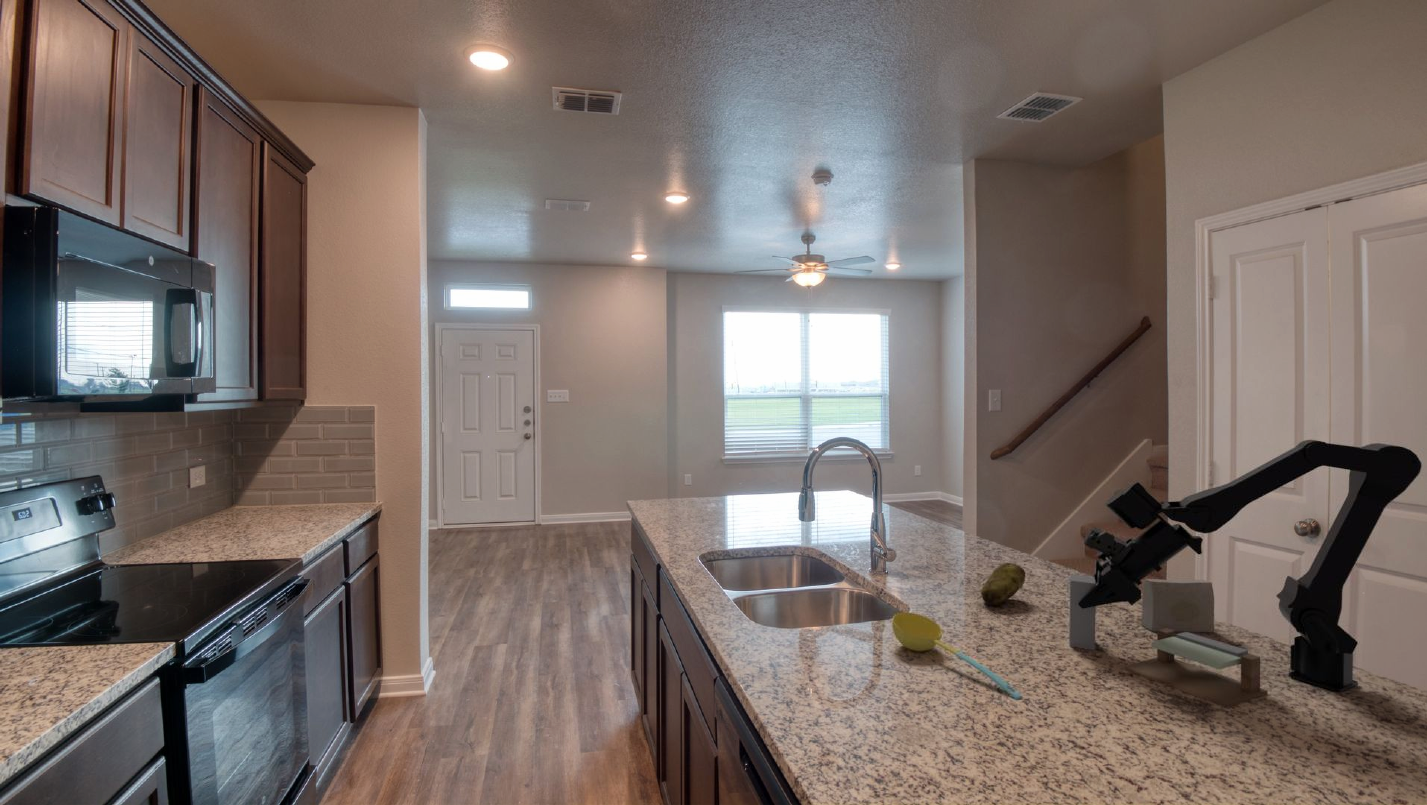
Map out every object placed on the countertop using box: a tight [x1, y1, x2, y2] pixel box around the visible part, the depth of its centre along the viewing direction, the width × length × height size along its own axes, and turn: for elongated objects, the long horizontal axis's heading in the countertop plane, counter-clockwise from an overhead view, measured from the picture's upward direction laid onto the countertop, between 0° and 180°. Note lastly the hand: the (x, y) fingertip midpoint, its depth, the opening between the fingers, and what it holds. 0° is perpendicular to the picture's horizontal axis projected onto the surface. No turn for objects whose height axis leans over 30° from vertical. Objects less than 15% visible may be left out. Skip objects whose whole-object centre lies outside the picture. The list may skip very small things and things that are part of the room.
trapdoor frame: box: [1124, 628, 1268, 709], centre depth 105 cm, size 15×11×6 cm
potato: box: [980, 562, 1026, 606], centre depth 145 cm, size 8×13×8 cm, turn 112°
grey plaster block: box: [1140, 578, 1215, 633], centre depth 128 cm, size 12×4×10 cm, turn 89°
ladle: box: [891, 611, 1024, 700], centre depth 111 cm, size 9×26×6 cm, turn 26°
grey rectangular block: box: [1068, 573, 1096, 651], centre depth 121 cm, size 4×5×12 cm
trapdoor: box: [1151, 632, 1249, 670], centre depth 106 cm, size 10×9×2 cm
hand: (1079, 602), depth 121 cm, fingers closed on grey rectangular block, 5 cm apart
